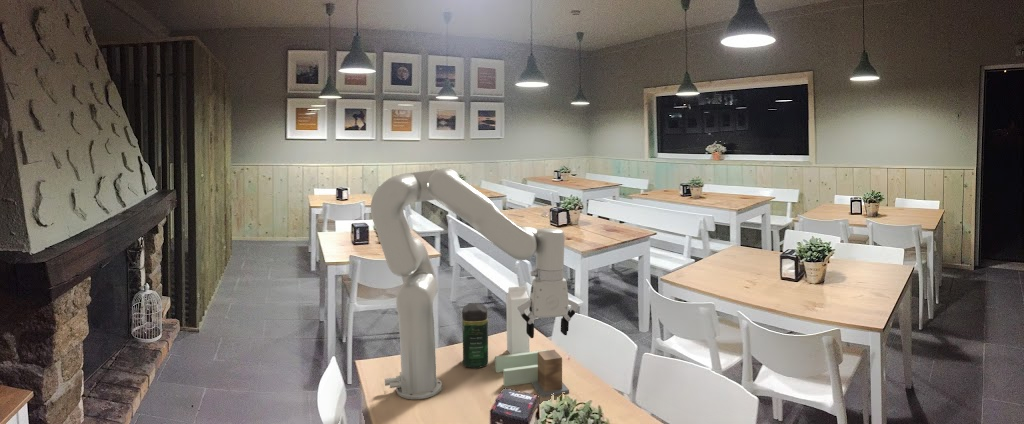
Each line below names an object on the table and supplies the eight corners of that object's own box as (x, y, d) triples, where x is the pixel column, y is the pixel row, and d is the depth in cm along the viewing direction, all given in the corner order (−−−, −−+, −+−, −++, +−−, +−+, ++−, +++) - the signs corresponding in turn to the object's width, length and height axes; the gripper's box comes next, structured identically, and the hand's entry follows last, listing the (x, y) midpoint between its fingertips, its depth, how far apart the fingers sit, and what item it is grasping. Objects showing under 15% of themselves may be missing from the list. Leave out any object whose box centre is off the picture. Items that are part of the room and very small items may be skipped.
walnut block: (544, 391, 147) (544, 360, 146) (537, 382, 153) (537, 351, 152) (562, 389, 148) (562, 357, 147) (554, 379, 154) (554, 349, 153)
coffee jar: (489, 368, 164) (488, 309, 162) (463, 370, 164) (461, 310, 161) (488, 356, 174) (487, 300, 171) (463, 357, 173) (461, 301, 171)
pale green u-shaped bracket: (504, 386, 152) (504, 371, 152) (495, 370, 163) (494, 356, 162) (561, 378, 157) (561, 363, 156) (548, 363, 167) (548, 349, 167)
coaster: (541, 396, 146) (541, 394, 146) (532, 384, 153) (532, 381, 153) (569, 392, 148) (569, 389, 148) (558, 380, 156) (558, 377, 156)
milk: (529, 354, 175) (529, 288, 172) (511, 357, 173) (511, 290, 170) (524, 347, 180) (523, 283, 177) (506, 349, 179) (505, 285, 176)
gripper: (523, 279, 140) (521, 342, 143) (584, 276, 145) (581, 337, 148) (514, 272, 148) (513, 332, 150) (573, 269, 152) (571, 328, 155)
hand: (547, 335), depth 149 cm, fingers open, 9 cm apart
